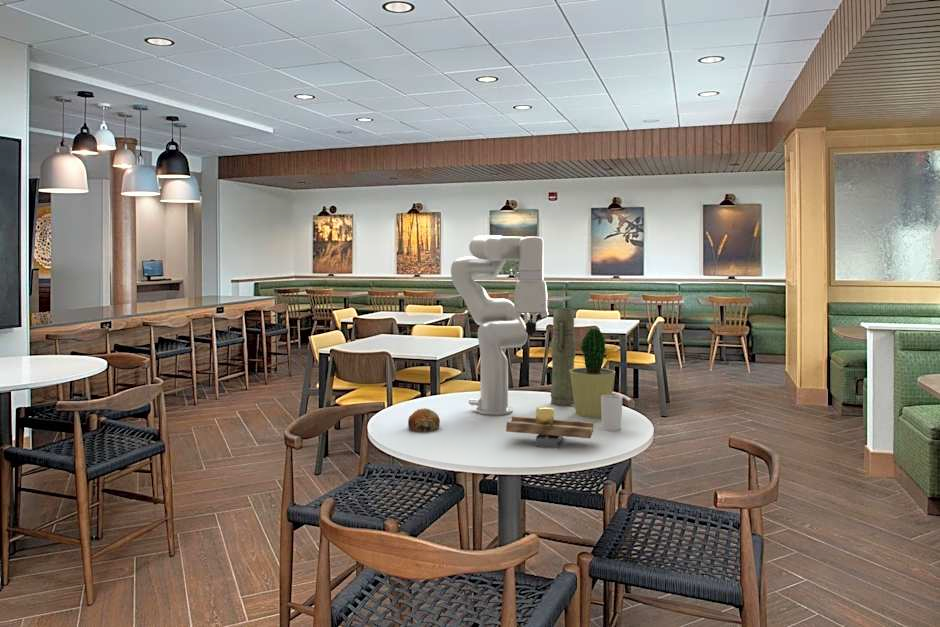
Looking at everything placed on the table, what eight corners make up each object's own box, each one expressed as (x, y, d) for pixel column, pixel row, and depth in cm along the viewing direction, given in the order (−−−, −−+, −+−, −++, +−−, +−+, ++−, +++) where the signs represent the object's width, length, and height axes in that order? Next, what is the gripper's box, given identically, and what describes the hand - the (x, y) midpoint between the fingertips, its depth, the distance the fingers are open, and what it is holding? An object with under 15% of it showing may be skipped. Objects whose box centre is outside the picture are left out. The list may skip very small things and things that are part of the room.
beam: (506, 431, 204) (506, 421, 204) (512, 424, 213) (512, 415, 213) (590, 438, 198) (590, 428, 198) (593, 431, 207) (593, 421, 207)
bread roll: (442, 438, 225) (446, 413, 228) (431, 431, 216) (435, 405, 218) (413, 436, 228) (417, 411, 231) (401, 429, 219) (405, 403, 222)
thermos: (575, 400, 267) (576, 307, 264) (574, 407, 255) (575, 309, 252) (551, 399, 268) (552, 307, 266) (549, 406, 257) (550, 309, 254)
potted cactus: (566, 408, 252) (567, 324, 250) (610, 409, 252) (611, 324, 249) (571, 418, 237) (572, 328, 234) (618, 418, 236) (619, 328, 234)
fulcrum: (536, 446, 201) (536, 436, 201) (543, 436, 212) (543, 426, 212) (557, 448, 199) (557, 437, 199) (563, 437, 211) (563, 427, 211)
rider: (533, 425, 204) (534, 408, 204) (539, 423, 209) (540, 406, 209) (550, 427, 202) (550, 410, 202) (555, 424, 207) (556, 407, 206)
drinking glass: (609, 431, 218) (610, 399, 218) (596, 427, 224) (596, 395, 223) (626, 429, 221) (627, 397, 221) (612, 425, 227) (613, 394, 227)
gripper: (505, 276, 220) (505, 335, 222) (553, 277, 216) (552, 337, 218) (510, 276, 227) (510, 333, 229) (556, 276, 224) (556, 334, 225)
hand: (530, 335), depth 223 cm, fingers closed
